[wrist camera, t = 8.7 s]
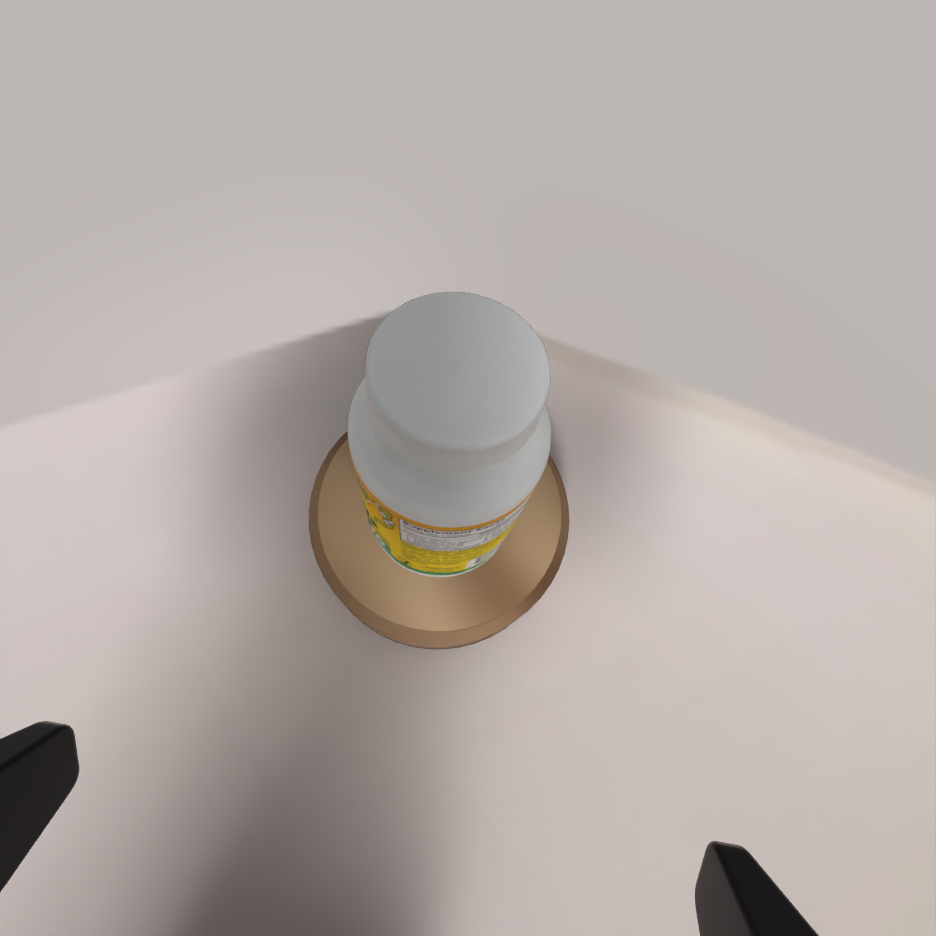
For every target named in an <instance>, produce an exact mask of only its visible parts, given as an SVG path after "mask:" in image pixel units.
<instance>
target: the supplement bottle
mask: <svg viewBox="0 0 936 936" xmlns="http://www.w3.org/2000/svg"><path fill="white" fill-rule="evenodd" d="M549 388H550V365H549V359H548V355H547V353H546V350H545V347H544V345H543V343H542V341H541V340H540V338H539V336H538V335H537V333H536V332H535V331H534V329H533V328H532V327H531V326H530V325H529V324H528V323H527V322H526V321H525V320H524V319H523V318H522V317H521V316H520V315H519V314H517V313H516V312H515V311H513V310H512V309H510V308H509V307H507V306H505V305H503V304H501V303H499V302H497V301H495V300H492V299H490V298H487V297H483V296H480V295H477V294H471V293H464V292H442V293H434V294H429V295H425V296H422V297H418V298H416V299H413V300H410V301H408V302H407V303H404V304H403V305H401V306H400V307H398V308H397V309H395V310H394V311H393V312H392V313H390V314H389V315H388V316H387V317H386V318H385V319H384V320H383V321H382V322H381V324H380V325H379V326H378V328H377V329H376V331H375V333H374V335H373V336H372V338H371V341H370V343H369V346H368V350H367V354H366V361H365V378H364V379H363V381H362V382H361V384H360V385H359V387H358V389H357V391H356V393H355V396H354V398H353V401H352V404H351V408H350V411H349V418H348V443H349V448H350V453H351V457H352V462H353V465H354V469H355V472H356V476H357V480H358V484H359V488H360V491H361V496H362V500H363V503H364V507H365V510H366V514H367V518H368V522H369V525H370V527H371V530H372V532H373V534H374V537H375V538H376V540H377V541H378V543H379V544H380V546H381V547H382V548H383V550H384V551H385V552H386V553H387V555H388V556H389V557H390V558H391V559H392V560H393V561H394V562H396V563H397V564H398V565H400V566H401V567H403V568H405V569H406V570H409V571H411V572H413V573H416V574H419V575H423V576H428V577H451V576H456V575H460V574H463V573H466V572H469V571H471V570H473V569H475V568H477V567H479V566H480V565H482V564H483V563H485V562H486V561H487V560H488V559H489V558H491V557H492V556H493V554H494V553H495V552H496V551H497V550H498V549H499V547H500V546H501V544H502V543H503V542H504V540H505V538H506V537H507V535H508V533H509V532H510V530H511V529H512V527H513V525H514V523H515V521H516V519H517V518H518V516H519V514H520V513H521V511H522V509H523V508H524V506H525V504H526V502H527V501H528V499H529V497H530V496H531V494H532V492H533V490H534V489H535V487H536V485H537V484H538V482H539V480H540V478H541V475H542V473H543V471H544V469H545V466H546V463H547V460H548V457H549V452H550V446H551V424H550V417H549V413H548V410H547V406H546V403H545V402H546V399H547V396H548V393H549Z"/></svg>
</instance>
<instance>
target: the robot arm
mask: <svg viewBox="0 0 936 936" xmlns="http://www.w3.org/2000/svg"><path fill="white" fill-rule="evenodd" d="M78 775H79V762H78V755H77V748H76V742H75V735H74V731H73V729H72V728H71V727H70V726H69V725H66V724H60V723H54V722H48V721H43V722H38V723H35V724H33V725H31V726H28V727H26V728H24V729H22V730H19V731H17V732H15V733H13V734H10V735H8V736H6V737H4V738H1V739H0V892H1V890H2V889H3V888H4V886H5V885H6V884H7V882H8V881H9V879H10V878H11V876H12V875H13V873H14V872H15V871H16V869H17V868H18V866H19V865H20V863H21V862H22V861H23V859H24V858H25V856H26V855H27V853H28V852H29V850H30V849H31V848H32V846H33V845H34V843H35V842H36V840H37V839H38V838H39V836H40V835H41V833H42V832H43V830H44V829H45V827H46V826H47V825H48V823H49V822H50V820H51V819H52V817H53V816H54V815H55V813H56V812H57V810H58V809H59V807H60V806H61V804H62V803H63V802H64V800H65V799H66V797H67V796H68V794H69V793H70V792H71V790H72V788H73V787H74V785H75V783H76V781H77V778H78ZM695 905H696V912H697V919H698V925H699V931H700V936H819V935H818V934H817V933H816V932H815V931H814V930H813V928H812V927H811V926H810V925H809V924H808V922H807V921H806V920H805V919H804V918H803V916H802V915H801V914H800V913H799V912H798V910H797V909H796V908H795V907H794V906H793V904H792V903H791V902H790V901H789V900H788V898H787V897H786V896H785V895H784V894H783V892H782V891H781V890H780V889H779V888H778V886H777V885H776V884H775V883H774V882H773V880H772V879H771V878H770V877H769V876H768V874H767V873H766V872H765V871H764V870H763V868H762V867H761V866H760V865H759V864H758V862H757V861H756V860H755V859H754V858H753V856H752V855H751V854H750V853H749V852H748V851H747V850H746V849H745V848H743V847H741V846H739V845H735V844H729V843H724V842H718V841H712V842H710V843H709V844H708V846H707V848H706V851H705V855H704V858H703V862H702V865H701V869H700V872H699V876H698V879H697V882H696V887H695Z"/></svg>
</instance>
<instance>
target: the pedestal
mask: <svg viewBox="0 0 936 936" xmlns="http://www.w3.org/2000/svg"><path fill="white" fill-rule="evenodd" d="M309 530H310V537H311V544H312V547H313V551H314V554H315V558H316V561H317V563H318V565H319V568H320V570H321V572H322V574H323V576H324V578H325V579H326V581H327V583H328V584H329V586H330V587H331V589H332V590H333V592H334V593H335V594H336V595H337V596H338V598H339V599H340V600H341V601H342V602H343V603H344V605H345V606H346V607H347V608H348V609H349V610H350V611H351V612H352V614H353V615H354V616H356V617H357V618H358V619H359V620H360V621H361V622H362V623H364V624H365V625H366V626H368V627H369V628H371V629H372V630H374V631H375V632H377V633H378V634H380V635H382V636H384V637H386V638H388V639H391V640H393V641H395V642H398V643H402V644H405V645H408V646H412V647H419V648H425V649H449V648H458V647H463V646H466V645H470V644H474V643H477V642H480V641H482V640H484V639H487V638H489V637H491V636H493V635H495V634H496V633H498V632H500V631H502V630H503V629H505V628H506V627H508V626H509V625H510V624H512V623H513V622H514V621H516V620H517V619H518V618H519V617H521V616H522V615H523V614H524V613H526V612H527V611H528V610H529V609H530V608H531V607H532V606H533V605H534V604H535V603H536V602H537V601H538V600H539V599H540V598H541V597H542V595H543V594H544V593H545V591H546V590H547V588H548V587H549V586H550V584H551V583H552V581H553V579H554V577H555V575H556V573H557V571H558V569H559V567H560V564H561V561H562V559H563V556H564V553H565V549H566V544H567V539H568V530H569V511H568V502H567V497H566V492H565V488H564V485H563V482H562V479H561V476H560V474H559V471H558V469H557V467H556V465H555V463H554V461H553V460H552V458H551V457H550V455H549V457H548V460H547V463H546V466H545V469H544V471H543V473H542V475H541V478H540V480H539V482H538V484H537V485H536V487H535V489H534V490H533V492H532V494H531V496H530V497H529V499H528V501H527V502H526V504H525V506H524V508H523V509H522V511H521V513H520V514H519V516H518V518H517V519H516V521H515V523H514V525H513V527H512V529H511V530H510V532H509V533H508V535H507V537H506V538H505V540H504V542H503V543H502V544H501V546H500V547H499V549H498V550H497V551H496V552H495V553H494V554H493V556H492V557H491V558H489V559H488V560H487V561H486V562H485V563H483V564H482V565H480V566H479V567H477V568H475V569H473V570H471V571H469V572H466V573H463V574H460V575H456V576H451V577H428V576H423V575H419V574H416V573H413V572H411V571H409V570H406V569H405V568H403V567H401V566H400V565H398V564H397V563H396V562H394V561H393V560H392V559H391V558H390V557H389V556H388V555H387V553H386V552H385V551H384V550H383V548H382V547H381V546H380V544H379V543H378V541H377V540H376V538H375V537H374V534H373V532H372V530H371V527H370V525H369V522H368V518H367V514H366V510H365V507H364V503H363V500H362V496H361V491H360V488H359V484H358V480H357V476H356V472H355V469H354V465H353V462H352V457H351V453H350V448H349V443H348V431H347V432H346V433H345V434H344V435H343V436H342V437H341V438H340V439H339V440H338V442H337V443H336V444H335V445H334V447H333V448H332V449H331V450H330V452H329V454H328V455H327V457H326V459H325V460H324V462H323V464H322V466H321V468H320V470H319V473H318V475H317V477H316V480H315V483H314V487H313V491H312V494H311V501H310V508H309Z"/></svg>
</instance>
